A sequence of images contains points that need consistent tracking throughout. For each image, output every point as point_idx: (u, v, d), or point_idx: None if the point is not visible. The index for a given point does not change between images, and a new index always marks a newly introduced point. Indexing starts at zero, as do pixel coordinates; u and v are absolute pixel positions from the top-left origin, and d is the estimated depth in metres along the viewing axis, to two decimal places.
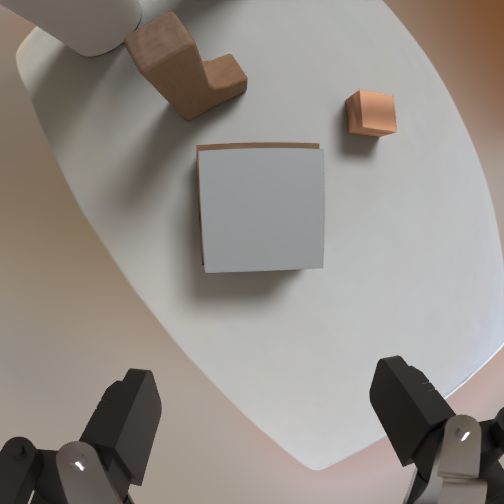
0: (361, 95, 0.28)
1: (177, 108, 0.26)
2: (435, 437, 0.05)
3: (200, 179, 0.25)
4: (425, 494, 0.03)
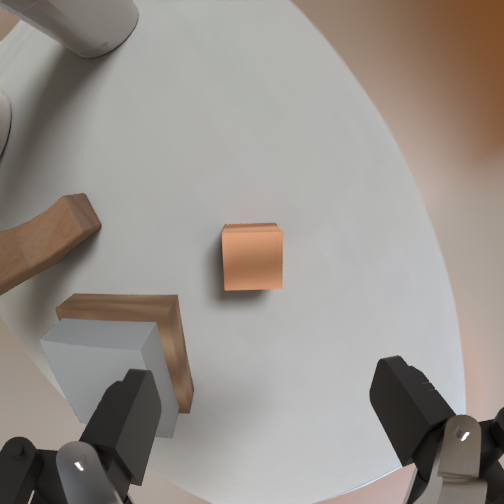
0: (224, 242, 0.23)
1: (25, 280, 0.21)
2: (435, 437, 0.05)
3: (49, 362, 0.21)
4: (425, 494, 0.03)
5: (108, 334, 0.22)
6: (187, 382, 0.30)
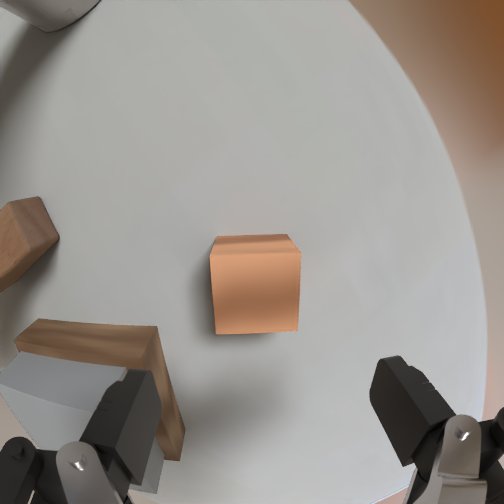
0: (214, 268, 0.15)
1: None
2: (435, 437, 0.05)
3: (8, 405, 0.13)
4: (425, 494, 0.03)
5: (66, 383, 0.14)
6: (175, 427, 0.22)
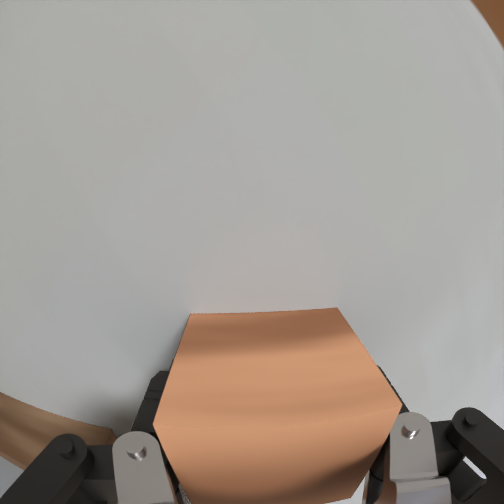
0: (171, 444, 0.04)
1: None
2: None
3: None
4: (382, 498, 0.03)
5: None
6: None
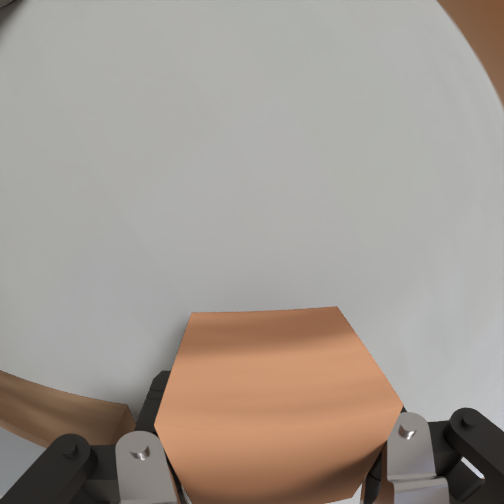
0: (172, 444, 0.04)
1: None
2: None
3: None
4: (379, 498, 0.03)
5: (15, 472, 0.06)
6: None
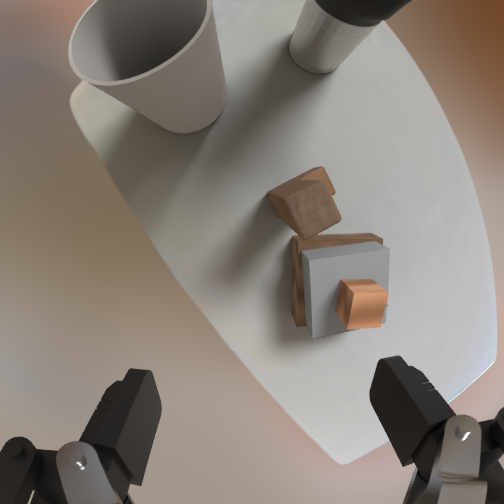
0: (354, 298, 0.32)
1: None
2: (435, 437, 0.05)
3: (311, 280, 0.36)
4: (425, 494, 0.03)
5: (357, 248, 0.37)
6: None
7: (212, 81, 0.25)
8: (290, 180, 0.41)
